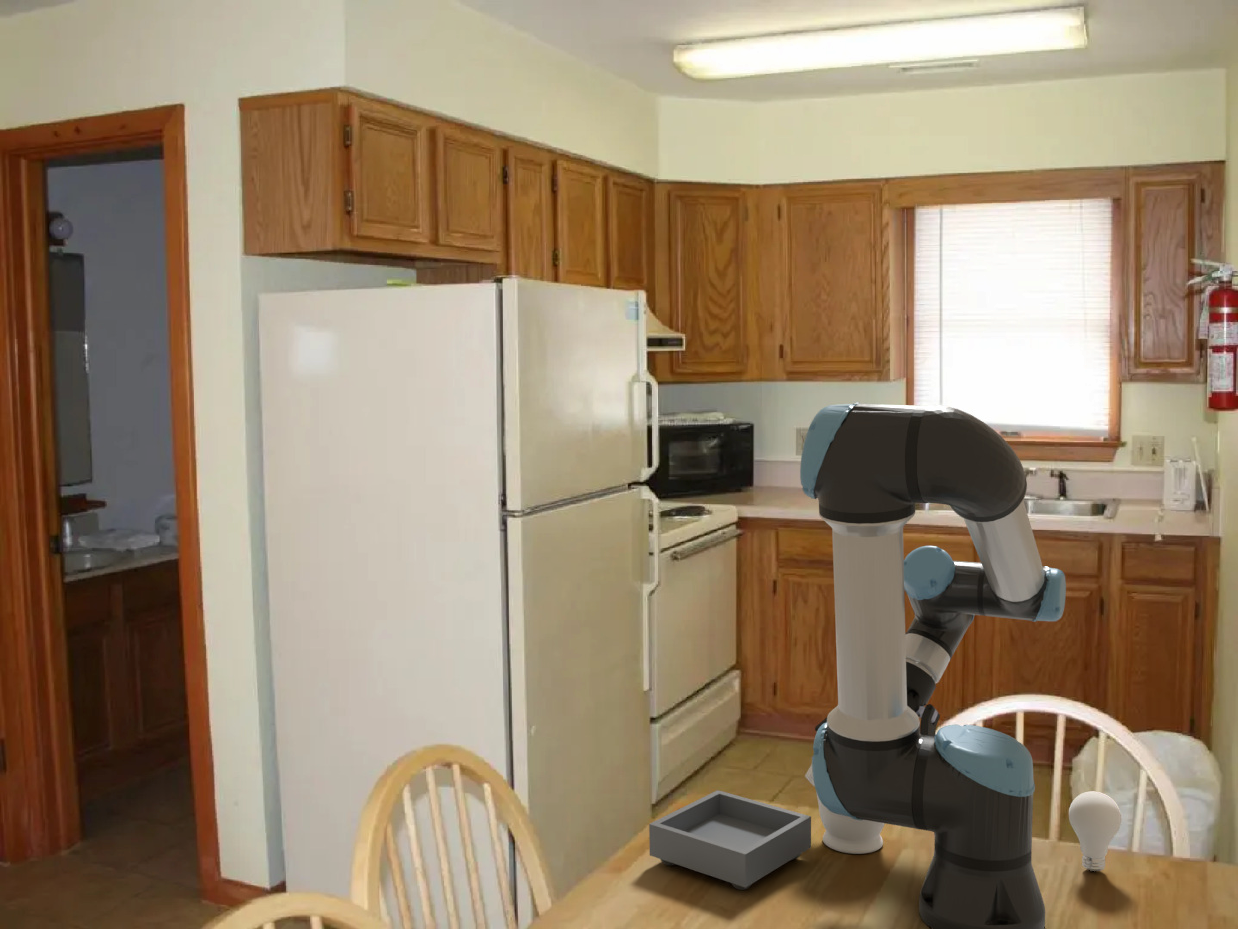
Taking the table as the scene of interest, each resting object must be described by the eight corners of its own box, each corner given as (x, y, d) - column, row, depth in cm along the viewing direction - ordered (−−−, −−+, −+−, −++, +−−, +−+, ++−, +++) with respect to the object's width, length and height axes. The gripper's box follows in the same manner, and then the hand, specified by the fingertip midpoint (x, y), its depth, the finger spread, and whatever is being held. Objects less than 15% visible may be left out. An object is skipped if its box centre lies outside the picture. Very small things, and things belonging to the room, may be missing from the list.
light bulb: (1061, 874, 169) (1063, 795, 168) (1074, 857, 175) (1076, 780, 174) (1112, 886, 166) (1115, 806, 164) (1125, 868, 171) (1127, 790, 170)
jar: (805, 850, 178) (805, 747, 177) (828, 824, 187) (829, 726, 186) (878, 864, 173) (879, 758, 172) (899, 836, 183) (900, 736, 181)
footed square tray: (811, 858, 176) (811, 816, 175) (745, 898, 164) (745, 854, 163) (717, 829, 186) (717, 790, 185) (649, 865, 174) (649, 824, 173)
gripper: (996, 704, 179) (930, 834, 171) (859, 669, 198) (794, 784, 191) (975, 675, 175) (906, 806, 167) (837, 642, 194) (770, 758, 187)
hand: (846, 795), depth 179 cm, fingers open, 13 cm apart
